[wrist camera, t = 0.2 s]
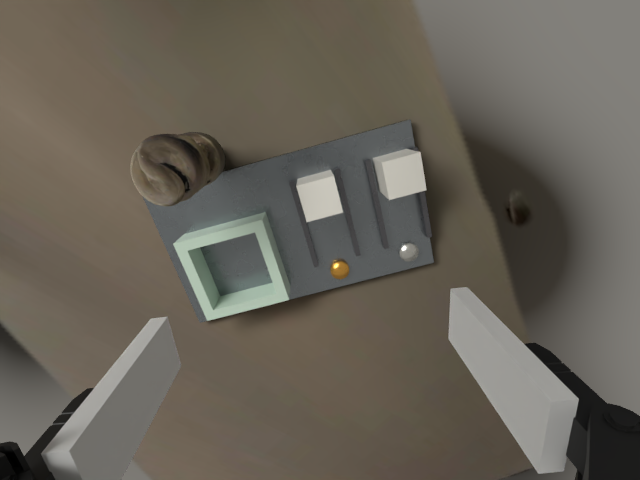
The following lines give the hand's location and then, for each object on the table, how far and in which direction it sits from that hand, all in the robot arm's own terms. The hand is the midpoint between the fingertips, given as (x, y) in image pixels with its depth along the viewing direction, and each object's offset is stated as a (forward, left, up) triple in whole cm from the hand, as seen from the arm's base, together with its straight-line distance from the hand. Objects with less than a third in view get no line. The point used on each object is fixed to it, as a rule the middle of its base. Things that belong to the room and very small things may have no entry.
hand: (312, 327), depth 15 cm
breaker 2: (-1, +10, -26) cm, 28 cm away
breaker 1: (-1, +2, -26) cm, 26 cm away
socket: (+5, -10, -26) cm, 28 cm away
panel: (+3, -2, -27) cm, 27 cm away
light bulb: (-8, -9, -27) cm, 30 cm away
